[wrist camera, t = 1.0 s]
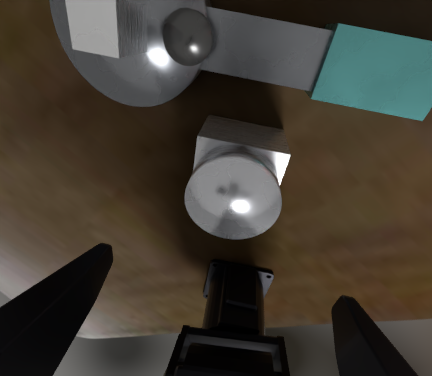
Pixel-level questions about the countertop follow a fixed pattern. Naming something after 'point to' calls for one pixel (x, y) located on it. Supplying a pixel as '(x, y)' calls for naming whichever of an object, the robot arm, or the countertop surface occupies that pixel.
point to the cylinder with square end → (236, 177)
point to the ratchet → (239, 54)
